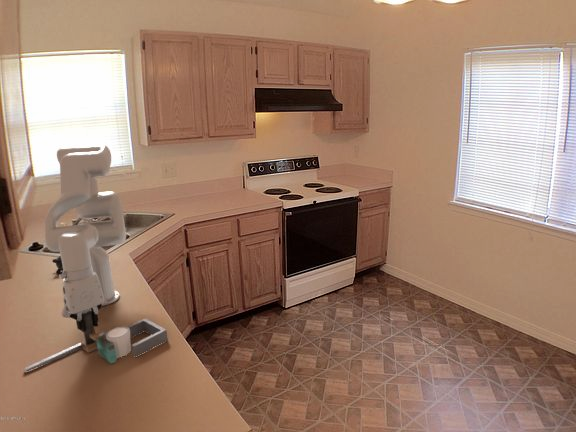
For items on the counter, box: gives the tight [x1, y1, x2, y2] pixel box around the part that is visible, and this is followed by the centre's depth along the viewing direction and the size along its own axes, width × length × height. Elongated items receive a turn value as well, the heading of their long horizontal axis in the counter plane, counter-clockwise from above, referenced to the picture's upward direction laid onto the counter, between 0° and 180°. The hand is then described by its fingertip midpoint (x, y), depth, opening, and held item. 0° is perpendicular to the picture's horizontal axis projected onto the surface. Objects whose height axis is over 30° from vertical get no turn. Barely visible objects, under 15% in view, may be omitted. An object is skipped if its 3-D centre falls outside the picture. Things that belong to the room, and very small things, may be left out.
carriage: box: [80, 309, 117, 364], centre depth 119 cm, size 16×4×12 cm, turn 51°
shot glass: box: [105, 326, 132, 359], centre depth 121 cm, size 7×7×7 cm
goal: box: [126, 318, 169, 358], centre depth 126 cm, size 12×11×4 cm
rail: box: [23, 331, 108, 372], centre depth 122 cm, size 1×24×1 cm, turn 141°
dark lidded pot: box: [52, 255, 63, 275], centre depth 185 cm, size 11×11×12 cm
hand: (88, 327), depth 123 cm, fingers closed on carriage, 3 cm apart
